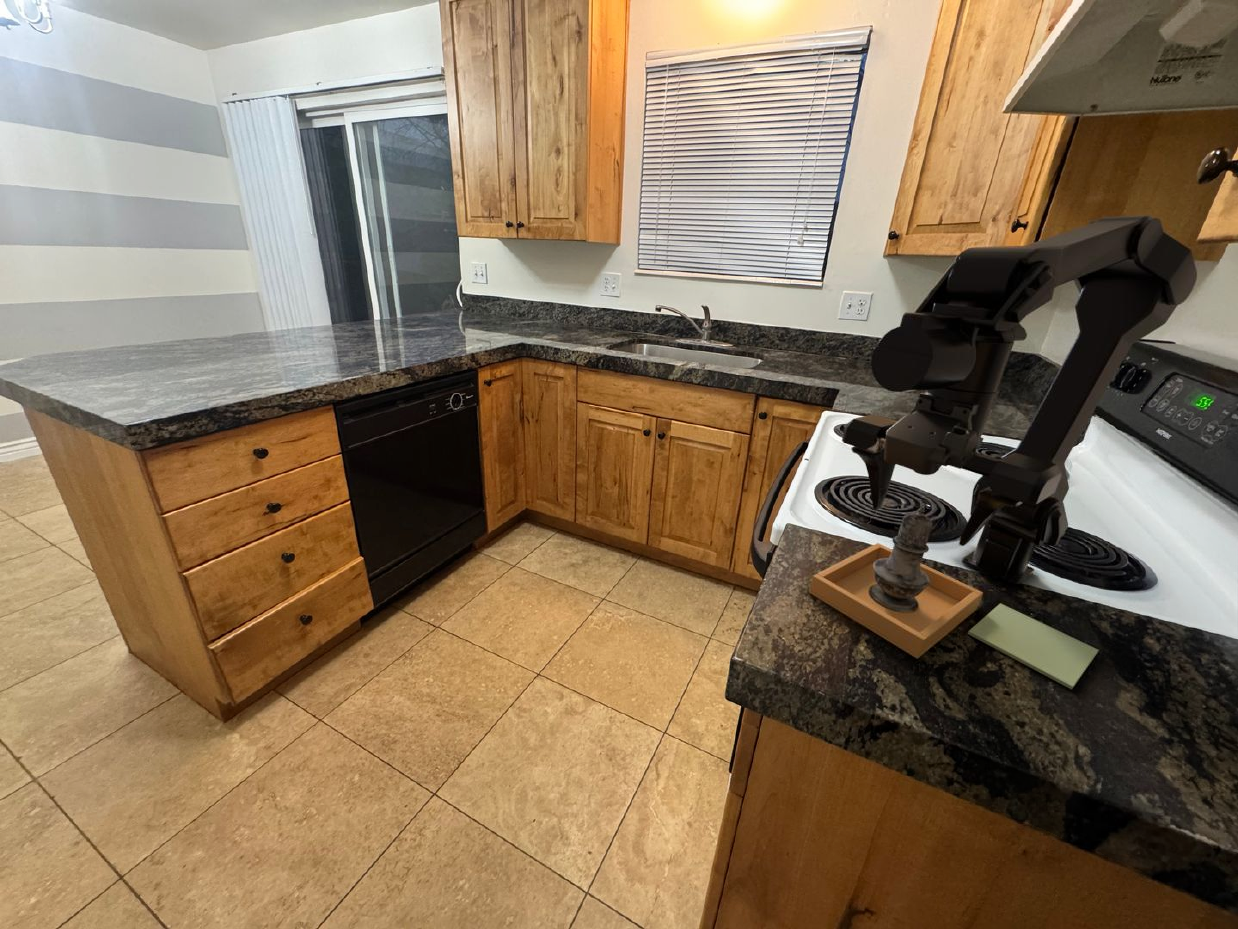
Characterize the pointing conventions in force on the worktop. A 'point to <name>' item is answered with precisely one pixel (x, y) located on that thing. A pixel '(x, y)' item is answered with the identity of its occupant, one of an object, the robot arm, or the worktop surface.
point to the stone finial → (903, 566)
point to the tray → (908, 631)
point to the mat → (1035, 644)
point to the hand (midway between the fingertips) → (917, 525)
